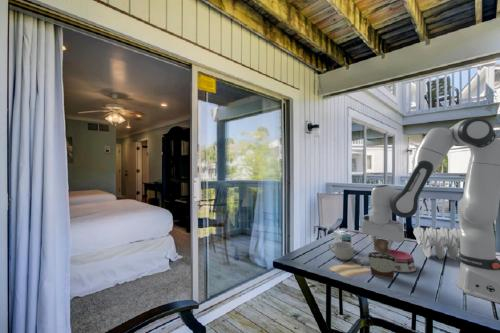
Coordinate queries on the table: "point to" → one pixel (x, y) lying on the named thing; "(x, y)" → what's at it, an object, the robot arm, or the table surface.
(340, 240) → the light bulb box
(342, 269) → the oak board
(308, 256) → the table surface
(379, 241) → the walnut block
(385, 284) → the table surface
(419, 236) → the spiral staircase
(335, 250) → the teacup
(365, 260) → the grey rounded dome
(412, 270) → the dog bowl
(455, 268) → the table surface
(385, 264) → the food container
